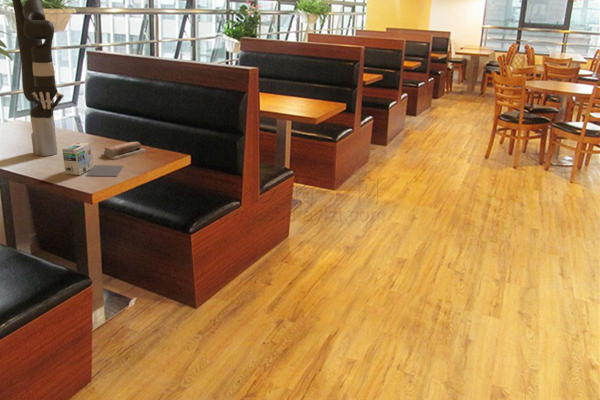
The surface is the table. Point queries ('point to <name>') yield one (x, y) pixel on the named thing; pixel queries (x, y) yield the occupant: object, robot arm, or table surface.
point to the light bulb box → (77, 158)
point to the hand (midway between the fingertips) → (48, 117)
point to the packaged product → (123, 150)
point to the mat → (105, 170)
